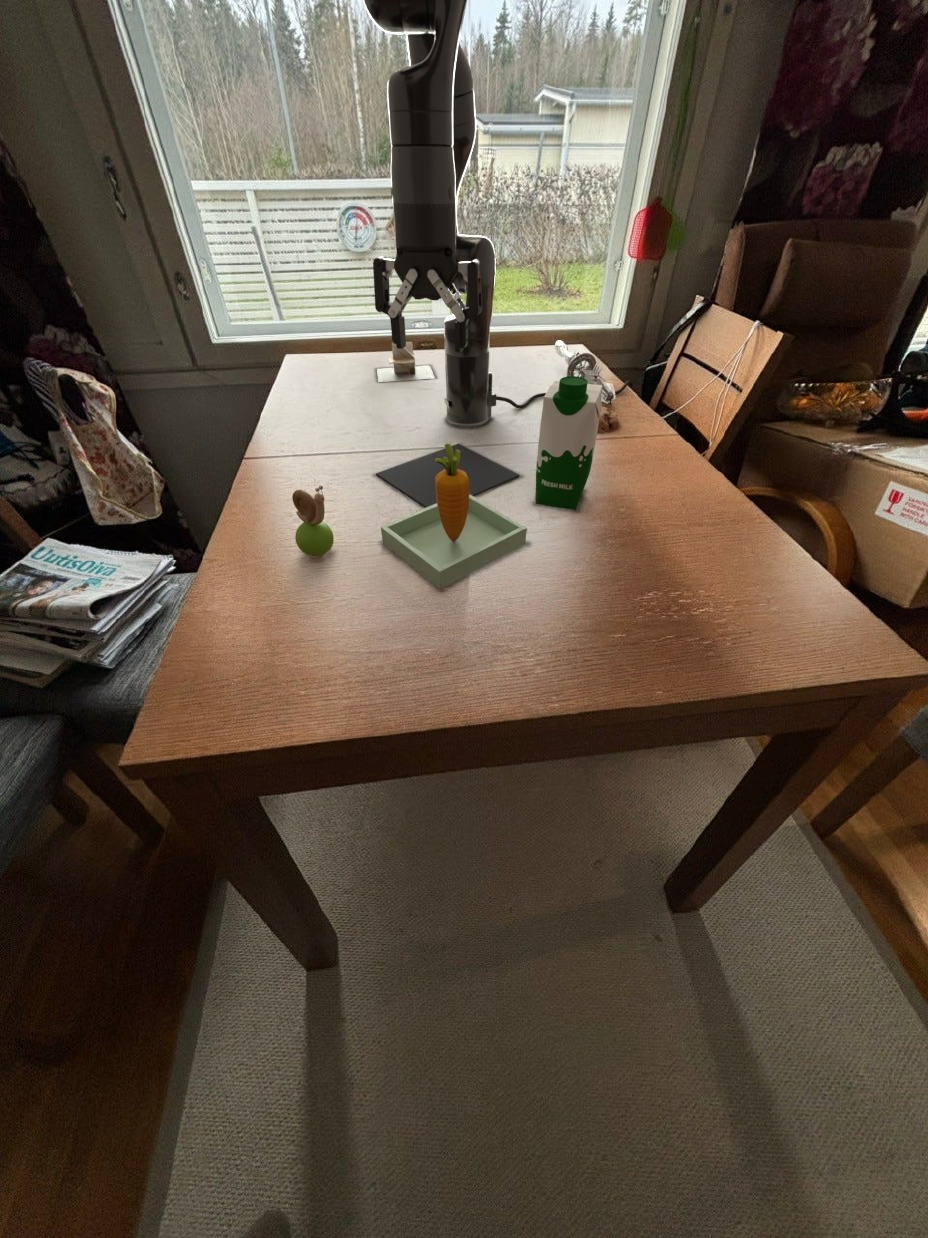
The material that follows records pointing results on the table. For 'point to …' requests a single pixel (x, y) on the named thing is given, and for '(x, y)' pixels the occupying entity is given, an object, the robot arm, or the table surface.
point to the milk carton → (567, 441)
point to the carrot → (452, 494)
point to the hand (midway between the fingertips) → (430, 349)
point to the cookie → (607, 420)
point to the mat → (422, 471)
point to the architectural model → (404, 366)
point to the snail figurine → (312, 523)
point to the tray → (443, 558)
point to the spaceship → (585, 370)
